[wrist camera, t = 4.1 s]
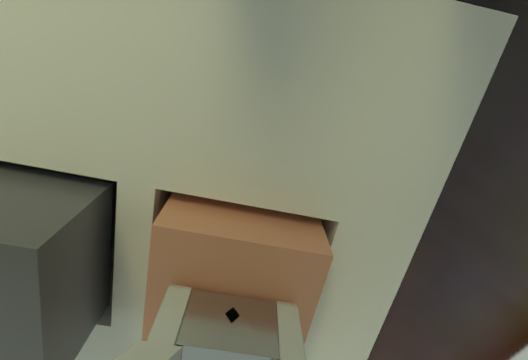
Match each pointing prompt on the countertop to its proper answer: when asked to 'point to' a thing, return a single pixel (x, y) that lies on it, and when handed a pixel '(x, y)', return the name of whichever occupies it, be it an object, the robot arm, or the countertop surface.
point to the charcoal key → (51, 261)
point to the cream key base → (253, 127)
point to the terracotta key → (236, 254)
